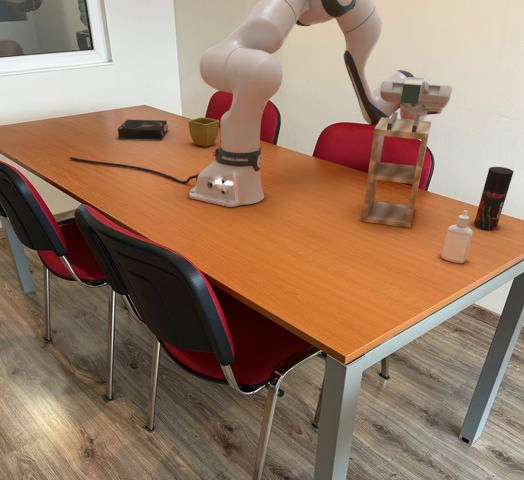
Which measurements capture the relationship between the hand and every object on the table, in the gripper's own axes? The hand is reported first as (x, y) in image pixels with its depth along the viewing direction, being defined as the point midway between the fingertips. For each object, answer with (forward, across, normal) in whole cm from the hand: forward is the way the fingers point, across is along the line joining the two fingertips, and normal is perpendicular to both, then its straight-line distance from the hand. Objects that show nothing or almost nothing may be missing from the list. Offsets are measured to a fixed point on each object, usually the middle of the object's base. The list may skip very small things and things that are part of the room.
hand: (416, 81), depth 145 cm
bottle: (+4, 0, +5) cm, 7 cm away
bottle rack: (+5, 0, +38) cm, 38 cm away
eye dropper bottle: (+24, +18, +50) cm, 58 cm away
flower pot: (-38, -77, +14) cm, 87 cm away
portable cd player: (-42, -106, +12) cm, 115 cm away
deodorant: (+3, +26, +37) cm, 45 cm away
